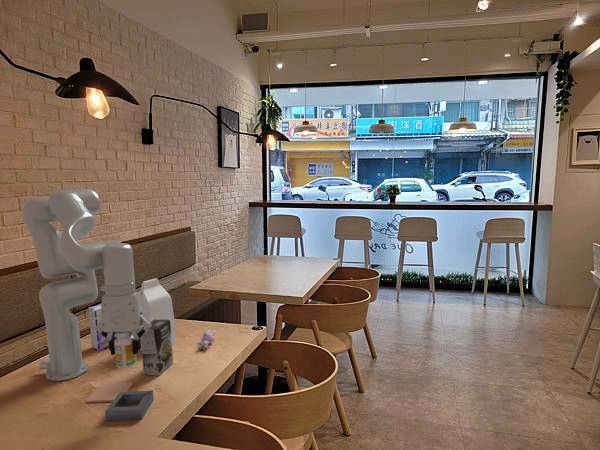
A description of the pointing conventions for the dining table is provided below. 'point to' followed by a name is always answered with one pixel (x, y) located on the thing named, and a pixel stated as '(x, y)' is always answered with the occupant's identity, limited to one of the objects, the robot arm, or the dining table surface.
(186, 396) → the dining table surface
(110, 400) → the pad
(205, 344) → the rabbit figure
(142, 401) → the sleeve
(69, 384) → the dining table surface
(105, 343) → the candy box
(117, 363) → the supplement bottle
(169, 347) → the coffee box
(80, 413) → the dining table surface
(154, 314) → the milk
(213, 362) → the dining table surface
